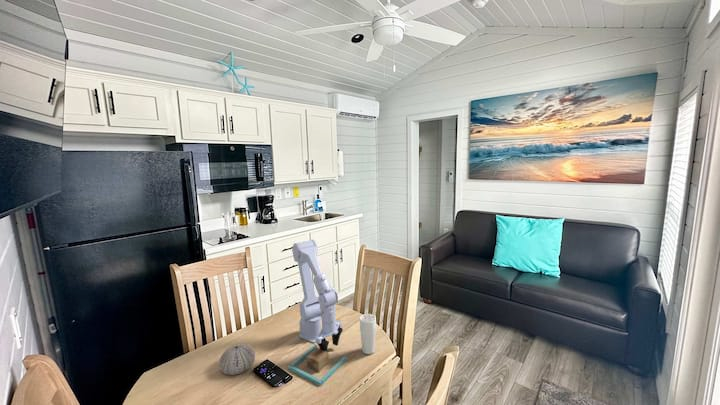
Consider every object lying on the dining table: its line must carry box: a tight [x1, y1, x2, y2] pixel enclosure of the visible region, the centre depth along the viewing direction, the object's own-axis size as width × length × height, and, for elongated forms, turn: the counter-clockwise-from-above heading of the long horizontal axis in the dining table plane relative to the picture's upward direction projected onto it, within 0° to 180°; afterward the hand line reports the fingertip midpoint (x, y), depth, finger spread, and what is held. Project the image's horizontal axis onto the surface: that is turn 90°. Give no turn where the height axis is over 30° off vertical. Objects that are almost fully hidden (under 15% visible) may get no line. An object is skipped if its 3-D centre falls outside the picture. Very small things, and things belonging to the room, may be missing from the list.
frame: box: [287, 343, 347, 387], centre depth 116 cm, size 16×16×1 cm
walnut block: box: [306, 347, 330, 373], centre depth 115 cm, size 6×6×4 cm
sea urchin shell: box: [218, 343, 256, 376], centre depth 116 cm, size 13×14×8 cm
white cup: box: [359, 313, 377, 355], centre depth 122 cm, size 7×7×15 cm
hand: (330, 349), depth 122 cm, fingers open, 7 cm apart
